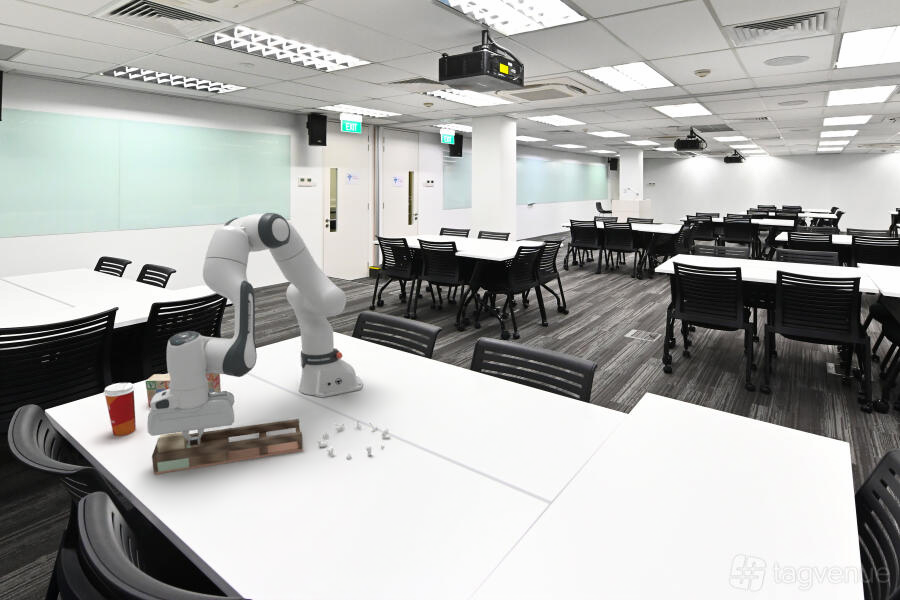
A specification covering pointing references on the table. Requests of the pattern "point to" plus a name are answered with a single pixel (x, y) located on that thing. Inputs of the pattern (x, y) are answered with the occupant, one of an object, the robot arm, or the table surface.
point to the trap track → (230, 447)
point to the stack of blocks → (163, 380)
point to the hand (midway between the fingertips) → (194, 444)
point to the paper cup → (121, 408)
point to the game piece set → (385, 431)
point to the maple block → (171, 442)
